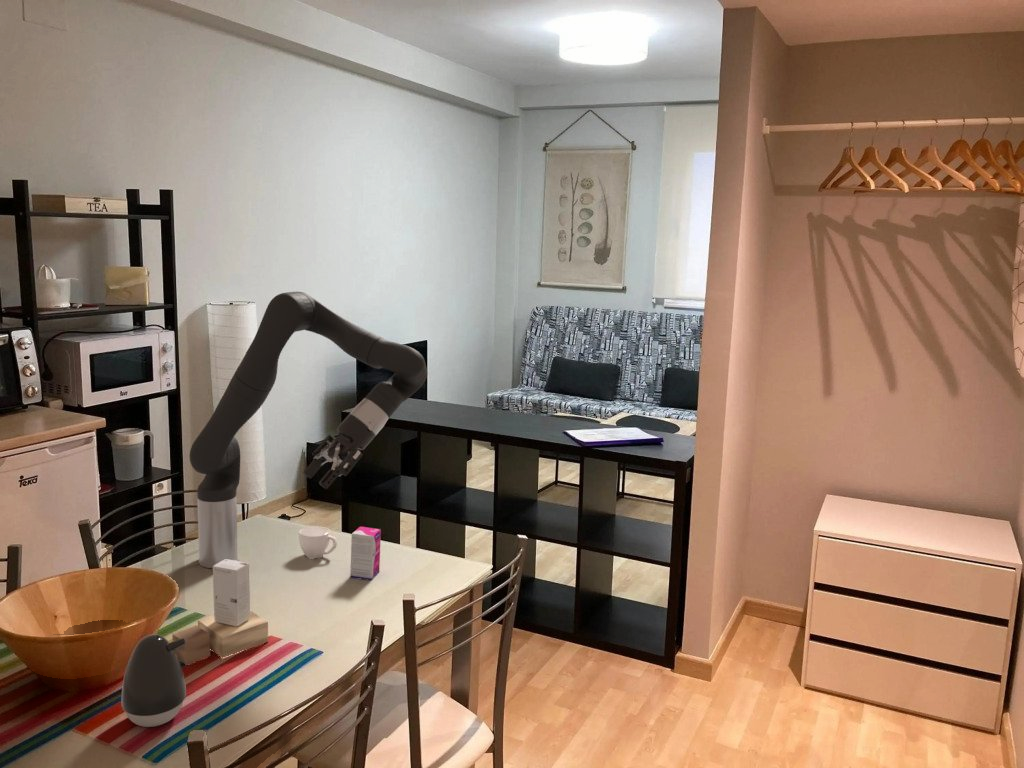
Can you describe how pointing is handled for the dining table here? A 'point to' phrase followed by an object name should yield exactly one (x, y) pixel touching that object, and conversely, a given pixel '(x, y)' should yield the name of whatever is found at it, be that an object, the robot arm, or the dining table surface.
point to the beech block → (235, 634)
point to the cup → (316, 541)
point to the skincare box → (231, 592)
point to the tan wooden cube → (192, 644)
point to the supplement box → (365, 553)
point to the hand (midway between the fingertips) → (314, 481)
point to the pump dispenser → (153, 682)
